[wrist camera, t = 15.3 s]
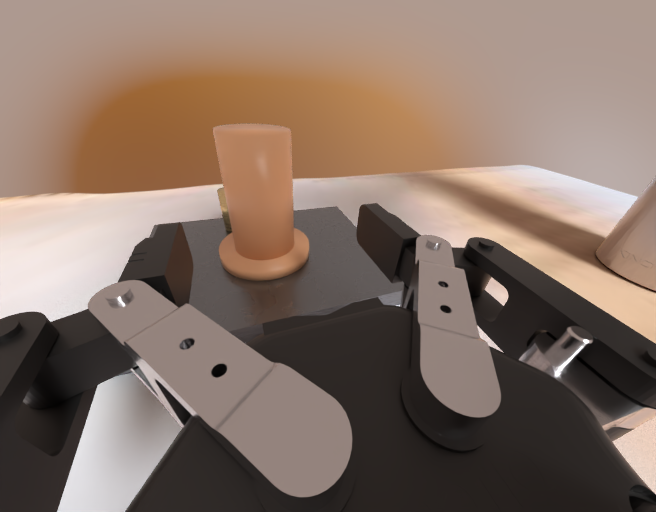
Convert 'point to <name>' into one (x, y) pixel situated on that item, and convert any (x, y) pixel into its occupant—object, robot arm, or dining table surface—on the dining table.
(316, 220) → the base plate
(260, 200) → the orange flanged cylinder
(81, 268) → the dining table surface
